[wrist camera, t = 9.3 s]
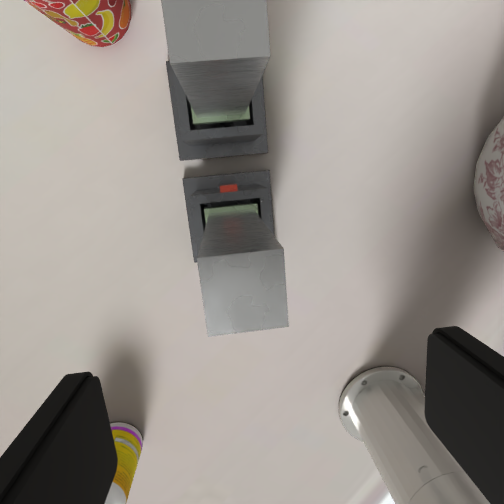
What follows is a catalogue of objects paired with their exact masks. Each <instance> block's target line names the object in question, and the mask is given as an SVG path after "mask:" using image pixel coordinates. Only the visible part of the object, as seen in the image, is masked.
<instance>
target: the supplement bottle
mask: <svg viewBox="0 0 504 504" xmlns="http://www.w3.org/2000/svg"><path fill="white" fill-rule="evenodd" d="M110 426H111V430H112V435H113V439H114V443H115V448H116V452H117V457H118V464H117V470H116V474H115V476H114V479H113V482H112V484H111V487H110V490H109V493H108V495H107V498H106V501H105V504H126V502H127V498H128V495H129V491H130V488H131V484H132V481H133V477H134V474H135V471H136V467H137V464H138V460H139V457H140V453H141V450H142V445H143V440H142V436H141V434H140V432H139V431H138V430H137V429H136V428H135V427H133V426H132V425H129V424H126V423H121V422H116V423H111V424H110Z"/></svg>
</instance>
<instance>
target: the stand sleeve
mask: <svg viewBox="0 0 504 504" xmlns="http://www.w3.org/2000/svg"><path fill="white" fill-rule="evenodd" d="M183 186H184V193H185V200H186V207H187V214H188V221H189V228H190V235H191V243H192V250H193V257H194V262H197V256H198V252H199V249H200V245H201V241H202V238H203V234H204V230H205V226H206V220H205V213H204V208H208V207H218V206H228V205H238V204H248V203H257V206H258V216H259V217H260V218H261V219H262V221H263V222H264V223H265V225H266V226H267V227H268V229H269V230H270V231H271V233H272V234H273V235H274V227H273V213H272V200H271V186H270V173H269V170H267V171H256V172H246V173H235V174H225V175H214V176H204V177H193V178H183Z"/></svg>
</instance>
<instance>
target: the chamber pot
mask: <svg viewBox="0 0 504 504" xmlns="http://www.w3.org/2000/svg"><path fill="white" fill-rule="evenodd" d="M473 188H474V194H475V200H476V205H477V210H478V212H479V214H480V216H481V218H482V220H483V222H484V224H485V225H486V227H487V229H488V231H489V232H490V234H491V236H492V238H493V239H494V241H495V243H496V245H497V246H498V248H499V249H501V250H502V251H503V252H504V116H503V118H502V119H501V120H500V122H499V123H498V124H497V126H496V127H495V128H494V130H493V131H492V132H491V133H490V135H489V136H488V137H487V139H486V142H485V144H484V146H483V149H482V151H481V154H480V156H479V158H478V161H477V164H476V172H475V179H474V187H473Z"/></svg>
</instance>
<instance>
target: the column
mask: <svg viewBox="0 0 504 504" xmlns="http://www.w3.org/2000/svg"><path fill="white" fill-rule="evenodd" d="M204 213H205V220H206V226H205V230H204V234H203V238H202V241H201V245H200V249H199V252H198V256H197V262H198V270H199V277H200V284H201V291H202V298H203V306H204V313H205V320H206V327H207V334H208V337H210V336H218V335H226V334H234V333H242V332H250V331H258V330H266V329H274V328H282V327H289V323H288V308H287V293H286V278H285V263H284V249H283V247H282V246H281V245H280V243H279V242H278V241H277V239H276V238H275V237H274V235H273V234H272V233H271V231H270V230H269V229H268V227H267V226H266V225H265V223H264V222H263V221H262V219H261V218H260V217H259V216H258V206H257V203H248V204H238V205H228V206H218V207H208V208H204Z"/></svg>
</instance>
